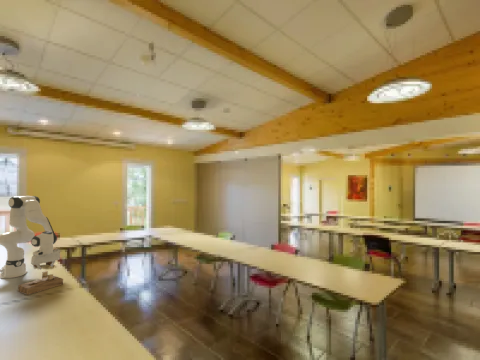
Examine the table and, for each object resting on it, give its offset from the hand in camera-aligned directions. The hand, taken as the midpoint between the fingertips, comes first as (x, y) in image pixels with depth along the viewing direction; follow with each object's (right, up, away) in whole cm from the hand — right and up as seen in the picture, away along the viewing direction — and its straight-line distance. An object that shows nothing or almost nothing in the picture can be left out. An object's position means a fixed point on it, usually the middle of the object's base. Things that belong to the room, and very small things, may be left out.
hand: (45, 267), depth 209 cm
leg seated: (+9, -12, -7) cm, 16 cm away
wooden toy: (-36, -13, +42) cm, 57 cm away
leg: (-1, -12, 0) cm, 12 cm away
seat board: (+6, -11, -13) cm, 18 cm away
